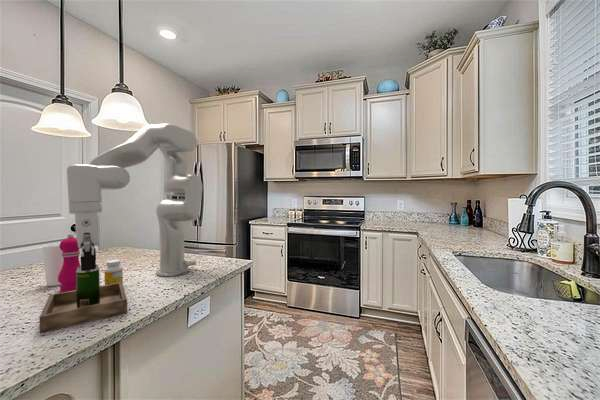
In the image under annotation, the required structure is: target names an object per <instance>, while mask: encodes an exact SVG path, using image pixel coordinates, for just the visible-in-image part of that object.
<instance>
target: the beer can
mask: <svg viewBox="0 0 600 400" xmlns="http://www.w3.org/2000/svg"><path fill="white" fill-rule="evenodd" d="M100 278H101V277H100V267H99V264H97V263H96V269H93V270H86V271H82V270H81V266H80V267H77V271H76V295H77V308H80V307H85V306H90V305H95V304H100V286H101V285H100V283H101V282H100V281H101V279H100Z"/></svg>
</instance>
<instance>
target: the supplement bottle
mask: <svg viewBox="0 0 600 400" xmlns="http://www.w3.org/2000/svg"><path fill="white" fill-rule="evenodd" d="M120 264H121V259H111V260H108V261H106V266H107V267H105V268H104V285H109V284H114V283H120V282H122V283H123V284H124V275H123V273H124V272H123V266H122V265H120Z"/></svg>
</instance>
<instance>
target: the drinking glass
mask: <svg viewBox="0 0 600 400" xmlns="http://www.w3.org/2000/svg"><path fill="white" fill-rule="evenodd" d="M59 246H60V242H57V243H56V242H55V243H49V244H44V245H43V246H42V259H43V266H44V271H45V272H44V274H45V278H46V279H45V281H46V286H47V287H57V286H61V285H62V284H61V283H59V281H58V276H59V273H60V271H61V269H62V267H63V261H64V259H63V257H62V252H63V251H62V250H61V249H60V247H59Z"/></svg>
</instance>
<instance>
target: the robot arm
mask: <svg viewBox="0 0 600 400" xmlns="http://www.w3.org/2000/svg"><path fill="white" fill-rule="evenodd" d="M197 147H198V138H197V136H196V135H195V133H193V132H192V131H190V130H188V129H185V128H183V127H180V126H177V125H175V124H172V123H157V124H156V123H155V124H148V125H145V126H143V127H142V128H140V130H138V131H137V132H135V134H134V135H132V137H130V138H129V139H127V141H126V142H124V143H122V144H119V145H117V146H115V147H113V148H111V149H109V150H106V151H103V152H102V153H101V154H98V155H97V156H95V157H94V158H93V159H90V161H89V162H87V163H86V164H71V165H69V166H67V168H66V179H67V182H66V183H67V197H68V214H70V215H74V221H75V236H76V238H77V242H78V248H80V249H79V250H80V265H81V270H82V271H86V270H93V269H96V264H97V263H96V261H97V254H96V250H97V249H96V248H95V247H96V246H97V248H99V247H100V246H101V235H100V234H101V233H100V219H99V218H100V217H99V213H102V212H103V201H102V199H103V198H102V190H111V191H114V190H121V189H124V188H126V187H127V186H129V183H130V181H131V176H130V173H129V172H128V170H126V168H129V167H133V166H137V165H140V164H142V163H144V162H146V161H147V160H148V159H149V158H150V157H151V156H152V155H153V154H154V153H155V152H156V150H158V149H159V151H161V152H160V153H162V155H163V157H164V159H165V162H166V166H165V176H164V182H163V191H164V193H165V194H166V195H168V196H171V197H184V198H167V199H166V198H165V199H162V200H160V201H159V202H158V203H157V205H156V209H155V211H156V217H157V221H158V226H159V227H158V229H159V268H158V269H157V270H155V275H156V276H158V277H174V276H180V275H183V274H186V273H187V272H188V271H189V267H190V266H197V261H196V260H188V261H187V260H186V259H185V230H184V226H183V225H182V222H185V223H187V222H190V223H191V222H195V221H197V219H198V218H199V216H200V213H201V206H202V195H203V182H202V179H201V178H200V177H199V175H197V174H191V173H188V168H189V167H188V162H187V160H186V158H185V157H184V156H183V154H182V153H191V152H193V151H195V150H196V149H197Z"/></svg>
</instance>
